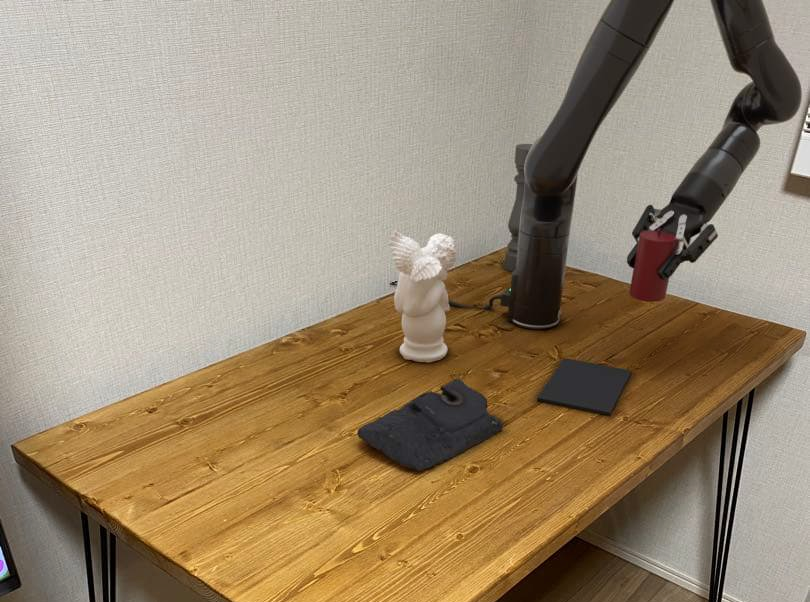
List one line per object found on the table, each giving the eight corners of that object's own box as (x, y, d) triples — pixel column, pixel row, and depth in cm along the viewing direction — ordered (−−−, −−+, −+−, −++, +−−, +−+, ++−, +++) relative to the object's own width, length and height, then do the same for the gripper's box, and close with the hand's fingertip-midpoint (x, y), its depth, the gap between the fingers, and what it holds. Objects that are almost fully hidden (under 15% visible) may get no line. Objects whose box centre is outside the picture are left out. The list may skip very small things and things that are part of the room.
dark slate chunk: (340, 440, 132) (340, 412, 129) (437, 393, 145) (439, 366, 142) (416, 479, 124) (417, 449, 121) (512, 425, 137) (515, 397, 134)
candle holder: (533, 272, 193) (546, 150, 179) (505, 272, 193) (515, 149, 179) (530, 263, 198) (543, 143, 184) (503, 262, 198) (513, 143, 184)
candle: (625, 298, 148) (637, 231, 141) (633, 286, 152) (644, 221, 146) (661, 304, 146) (675, 237, 140) (668, 292, 151) (681, 226, 144)
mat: (536, 400, 144) (537, 397, 143) (563, 361, 156) (564, 357, 156) (609, 415, 140) (610, 412, 140) (631, 373, 153) (632, 370, 152)
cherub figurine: (445, 340, 163) (451, 218, 150) (467, 368, 153) (475, 240, 140) (381, 346, 160) (382, 222, 147) (399, 375, 150) (402, 246, 137)
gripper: (665, 161, 146) (604, 245, 147) (738, 181, 137) (672, 271, 138) (678, 190, 152) (620, 271, 153) (749, 211, 143) (687, 297, 144)
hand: (645, 270), depth 146 cm, fingers closed on candle, 6 cm apart
